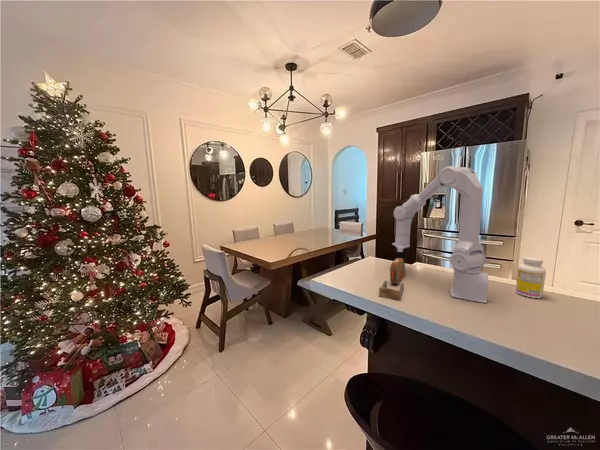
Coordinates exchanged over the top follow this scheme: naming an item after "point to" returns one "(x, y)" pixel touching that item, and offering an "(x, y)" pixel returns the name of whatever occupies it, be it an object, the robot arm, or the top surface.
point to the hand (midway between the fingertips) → (401, 264)
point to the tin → (397, 270)
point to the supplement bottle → (531, 277)
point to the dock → (390, 292)
